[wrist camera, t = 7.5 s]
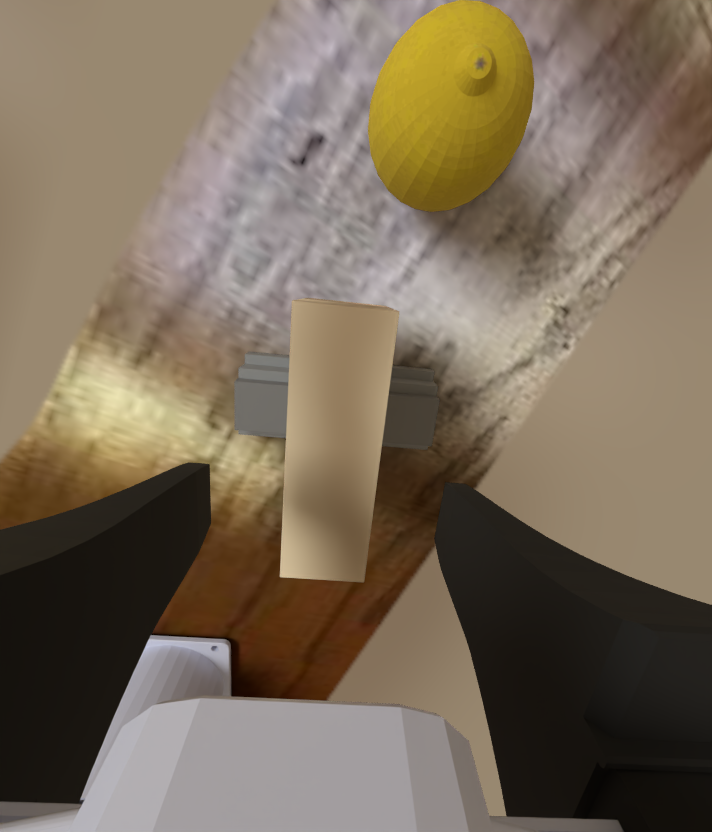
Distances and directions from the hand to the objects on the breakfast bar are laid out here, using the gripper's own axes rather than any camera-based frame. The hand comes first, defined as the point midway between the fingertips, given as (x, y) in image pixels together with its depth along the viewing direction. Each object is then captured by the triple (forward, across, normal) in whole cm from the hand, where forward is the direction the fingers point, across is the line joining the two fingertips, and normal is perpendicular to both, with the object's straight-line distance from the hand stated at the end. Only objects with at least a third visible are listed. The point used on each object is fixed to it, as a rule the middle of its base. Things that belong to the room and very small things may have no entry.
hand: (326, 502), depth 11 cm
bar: (+8, 0, 0) cm, 8 cm away
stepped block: (+10, 0, 0) cm, 10 cm away
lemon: (+10, -3, -12) cm, 16 cm away
